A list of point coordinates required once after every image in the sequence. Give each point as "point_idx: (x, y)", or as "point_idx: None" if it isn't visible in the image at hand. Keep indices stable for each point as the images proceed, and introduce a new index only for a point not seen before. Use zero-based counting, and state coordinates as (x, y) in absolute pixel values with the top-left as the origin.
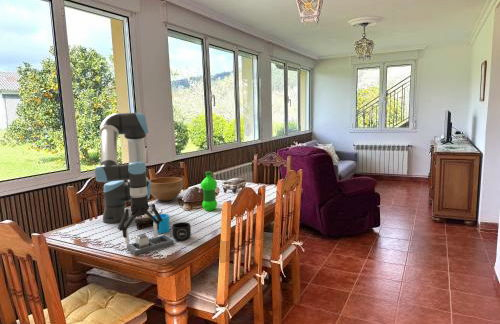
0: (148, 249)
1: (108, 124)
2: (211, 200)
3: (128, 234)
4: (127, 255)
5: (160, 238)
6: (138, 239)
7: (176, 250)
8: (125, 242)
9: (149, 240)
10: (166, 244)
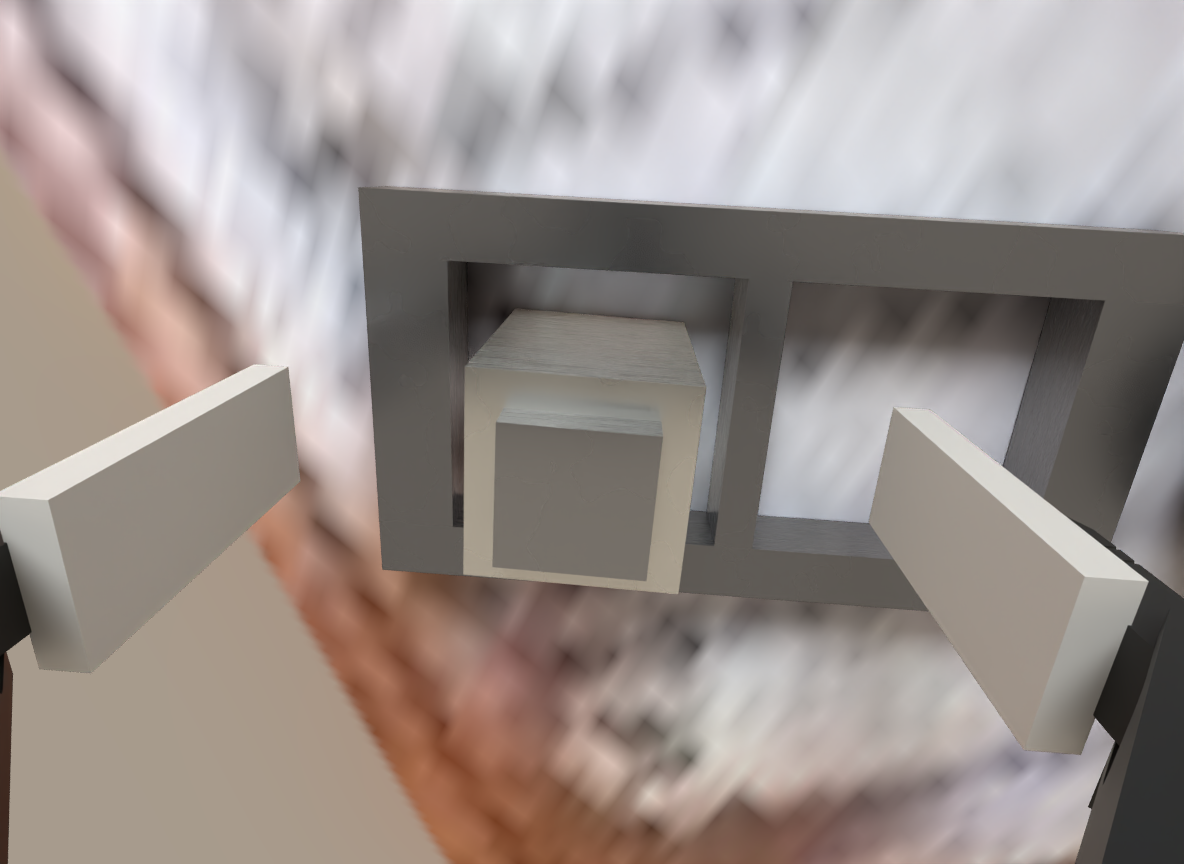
0: None
1: None
2: None
3: (168, 601)
4: (318, 456)
5: (1049, 294)
6: (465, 546)
7: (905, 762)
8: (244, 372)
9: (811, 282)
10: None
